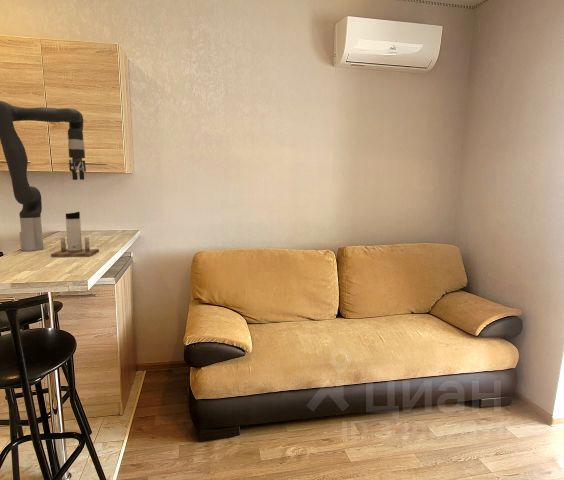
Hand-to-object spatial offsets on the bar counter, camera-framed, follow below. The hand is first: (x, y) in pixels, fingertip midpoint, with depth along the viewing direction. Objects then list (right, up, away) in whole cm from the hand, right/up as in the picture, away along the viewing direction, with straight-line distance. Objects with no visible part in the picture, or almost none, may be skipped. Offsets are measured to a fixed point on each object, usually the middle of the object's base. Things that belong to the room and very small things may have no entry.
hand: (78, 179), depth 200 cm
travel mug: (+5, -38, -12) cm, 40 cm away
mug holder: (+5, -40, -12) cm, 42 cm away
